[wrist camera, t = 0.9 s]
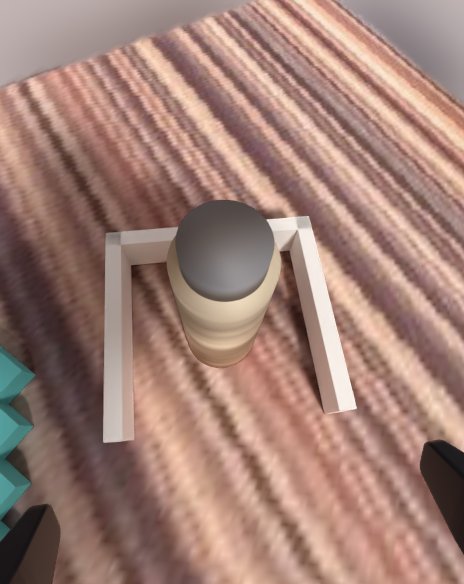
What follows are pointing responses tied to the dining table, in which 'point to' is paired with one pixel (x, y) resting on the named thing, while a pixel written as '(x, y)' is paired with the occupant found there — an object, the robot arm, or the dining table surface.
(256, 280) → the pepper mill
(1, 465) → the alien figure
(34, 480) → the dining table surface
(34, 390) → the dining table surface
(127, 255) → the u-shaped frame
